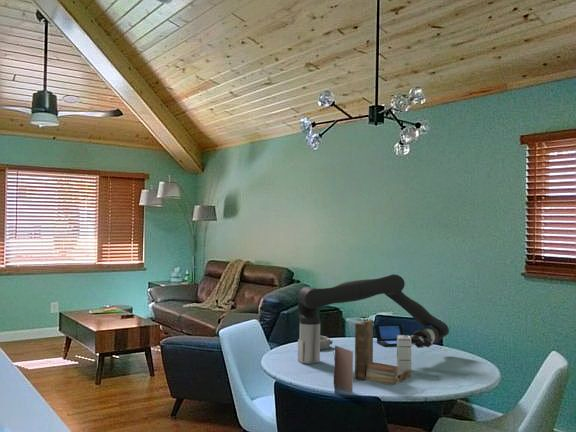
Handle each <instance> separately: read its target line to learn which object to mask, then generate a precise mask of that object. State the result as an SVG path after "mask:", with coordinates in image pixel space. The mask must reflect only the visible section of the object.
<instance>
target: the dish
mask: <svg viewBox="0 0 576 432" xmlns="http://www.w3.org/2000/svg"><path fill="white" fill-rule="evenodd" d="M333 342H334V341H333V340H332V339H330V337H328V336H324V335H320V350H327V349H329V348H330V346H331V345H332V344H333Z"/></svg>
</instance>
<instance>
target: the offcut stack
mask: <svg viewBox="0 0 576 432" xmlns="http://www.w3.org/2000/svg"><path fill="white" fill-rule="evenodd" d="M398 375H400V371H399V370H398V366H397V365H392V364H388V363H387V364H386V363H380V362H374V361H373V363H370V364H368V365H367V372H366V377H365V381H370V382H375V383H380V384H386V385H389V386H395V385H397V384H399V383H400V382H399V378H398Z"/></svg>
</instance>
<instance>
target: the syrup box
mask: <svg viewBox="0 0 576 432" xmlns="http://www.w3.org/2000/svg"><path fill="white" fill-rule="evenodd" d="M410 336H411V335H408V334H403V335H397V346H396V366H398V370H399V371H400V372H403V371H405V370H407V369H411V370H412V368H413V367H412V362H413V361H412V344H411V337H410Z"/></svg>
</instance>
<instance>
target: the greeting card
mask: <svg viewBox="0 0 576 432" xmlns="http://www.w3.org/2000/svg"><path fill="white" fill-rule="evenodd" d="M332 352H333V357H334V367H333V387H334V389H336V387H338V388H341V389H344V390H346V391H347V392H350V393H353V390H354V389H353V388H354V387H353V383H354V382H353V380H354V379H353V378H354V376H353V375H354V374H353V373H354V369H353V368H354V366H353V365H354V351H353V350H350V349H346V348H344V347H341V346H338V345H335V346H334V351H333V350H332ZM334 394H336V393H335V392H334Z"/></svg>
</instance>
